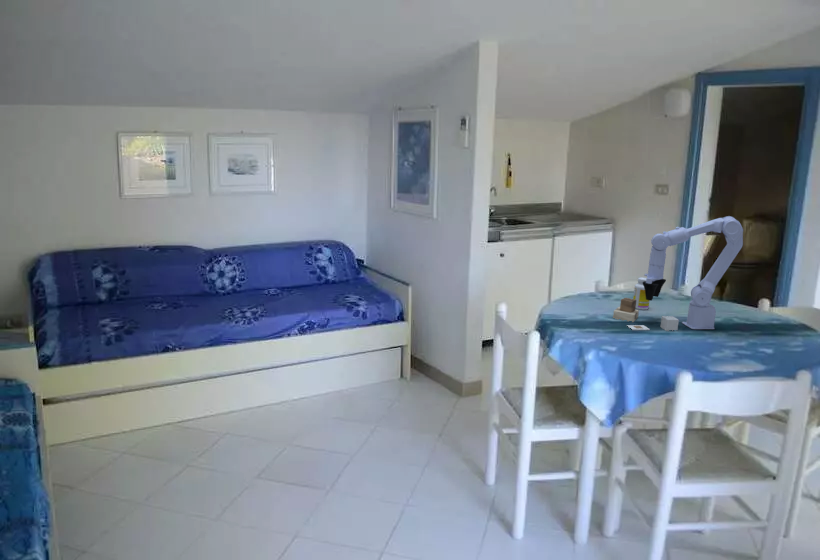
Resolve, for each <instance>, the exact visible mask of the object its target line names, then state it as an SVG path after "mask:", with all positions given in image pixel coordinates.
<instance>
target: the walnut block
mask: <svg viewBox="0 0 820 560" xmlns="http://www.w3.org/2000/svg"><path fill="white" fill-rule="evenodd" d="M619 307H620V310H621V311H625V312H630V313H631V312H633V311H635V310H636V300H635V299H633V298H630V297H624V298H621V300H620V305H619Z"/></svg>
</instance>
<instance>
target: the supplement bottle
mask: <svg viewBox="0 0 820 560" xmlns="http://www.w3.org/2000/svg"><path fill="white" fill-rule="evenodd" d="M646 279H647V277H638V278H637V283H636V284H635V285H634V287H633V289H634V290H633V296H632V299H635V300H636V308H635V310H639V311H644V310H648V309H649V307H650V300H646V295H645V289H644V286H643V282H644V281H646Z"/></svg>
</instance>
